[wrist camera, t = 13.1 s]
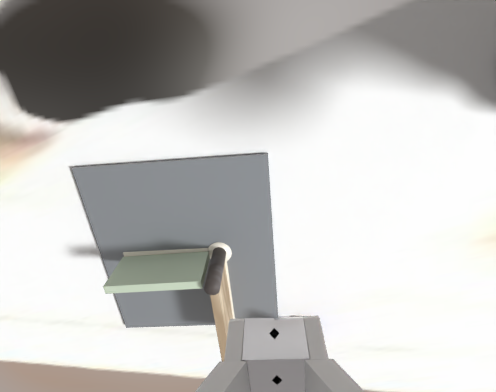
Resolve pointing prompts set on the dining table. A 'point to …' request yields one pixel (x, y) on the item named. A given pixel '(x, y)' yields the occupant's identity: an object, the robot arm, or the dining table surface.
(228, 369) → the robot arm
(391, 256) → the dining table surface
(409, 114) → the dining table surface
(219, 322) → the panel
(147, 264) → the folding panel
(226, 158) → the board
